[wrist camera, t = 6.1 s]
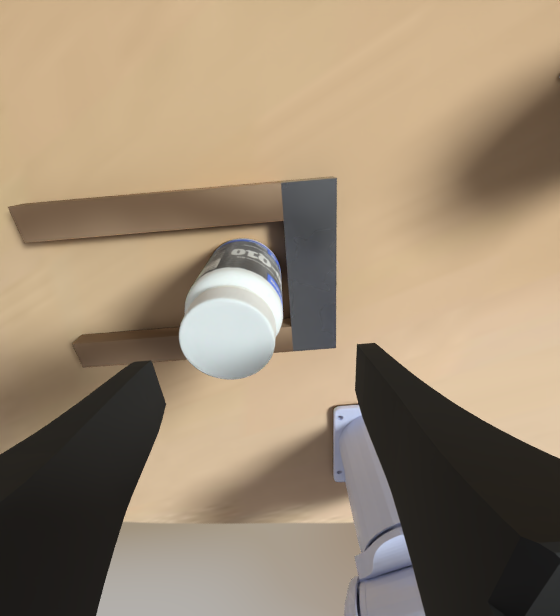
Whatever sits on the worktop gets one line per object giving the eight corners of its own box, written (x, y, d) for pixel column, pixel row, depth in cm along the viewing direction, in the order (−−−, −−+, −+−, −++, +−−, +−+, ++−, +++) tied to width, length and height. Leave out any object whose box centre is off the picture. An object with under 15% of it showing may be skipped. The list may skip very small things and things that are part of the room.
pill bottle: (295, 268, 20) (309, 337, 12) (251, 317, 21) (239, 404, 14) (237, 220, 18) (212, 265, 11) (194, 276, 20) (146, 349, 12)
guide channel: (292, 341, 22) (293, 351, 21) (92, 357, 23) (82, 367, 22) (280, 181, 17) (281, 182, 16) (23, 203, 18) (7, 206, 17)
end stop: (332, 338, 22) (335, 347, 21) (292, 341, 22) (293, 351, 21) (332, 176, 17) (336, 178, 16) (280, 181, 17) (281, 182, 16)
